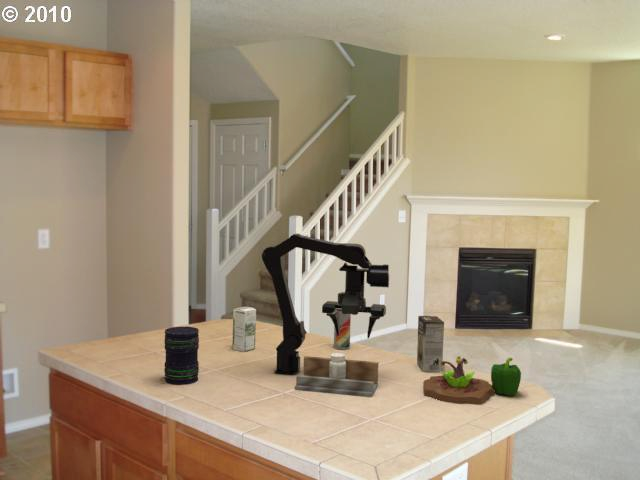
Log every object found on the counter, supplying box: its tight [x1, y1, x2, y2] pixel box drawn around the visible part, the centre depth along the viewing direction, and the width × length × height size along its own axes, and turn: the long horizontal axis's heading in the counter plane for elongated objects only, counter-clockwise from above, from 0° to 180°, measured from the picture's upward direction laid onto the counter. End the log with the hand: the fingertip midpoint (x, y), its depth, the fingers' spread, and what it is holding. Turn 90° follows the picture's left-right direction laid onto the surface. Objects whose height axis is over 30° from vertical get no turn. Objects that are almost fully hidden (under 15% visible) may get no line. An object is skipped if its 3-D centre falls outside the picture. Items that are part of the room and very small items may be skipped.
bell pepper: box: [490, 357, 522, 397], centre depth 194 cm, size 8×8×10 cm
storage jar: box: [163, 326, 200, 386], centre depth 200 cm, size 10×10×15 cm
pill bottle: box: [329, 352, 346, 379], centre depth 197 cm, size 5×5×8 cm
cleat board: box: [294, 355, 379, 398], centre depth 196 cm, size 22×11×7 cm, turn 77°
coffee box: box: [416, 315, 445, 373], centre depth 219 cm, size 9×6×16 cm
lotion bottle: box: [333, 291, 352, 350], centre depth 243 cm, size 6×6×20 cm
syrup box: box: [232, 306, 257, 353], centre depth 237 cm, size 6×6×14 cm
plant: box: [422, 356, 495, 406], centre depth 194 cm, size 20×20×11 cm
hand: (353, 336), depth 208 cm, fingers open, 9 cm apart
